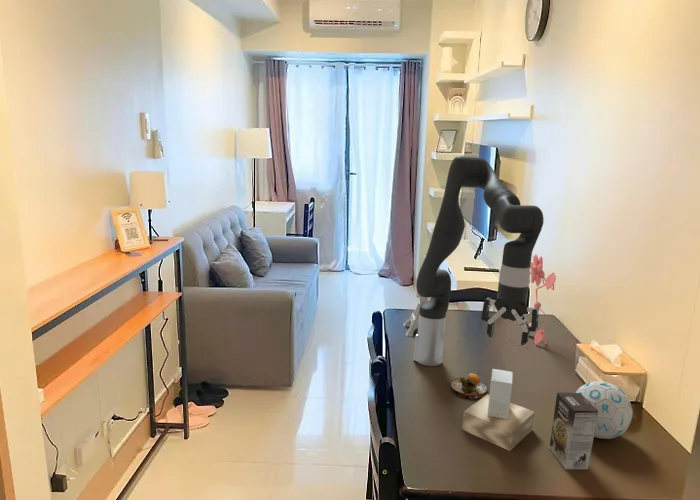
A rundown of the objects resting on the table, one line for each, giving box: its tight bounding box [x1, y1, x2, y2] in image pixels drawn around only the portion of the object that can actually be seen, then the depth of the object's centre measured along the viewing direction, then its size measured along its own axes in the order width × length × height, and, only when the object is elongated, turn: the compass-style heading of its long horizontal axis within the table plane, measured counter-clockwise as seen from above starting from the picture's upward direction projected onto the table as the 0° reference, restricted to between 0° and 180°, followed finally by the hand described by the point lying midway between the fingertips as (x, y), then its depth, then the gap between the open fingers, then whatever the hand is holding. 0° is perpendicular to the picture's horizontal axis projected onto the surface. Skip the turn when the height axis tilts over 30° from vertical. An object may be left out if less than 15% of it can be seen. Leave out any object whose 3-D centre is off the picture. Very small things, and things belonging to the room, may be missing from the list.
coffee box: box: [549, 391, 598, 470], centre depth 133 cm, size 9×6×16 cm
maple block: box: [461, 393, 536, 452], centre depth 146 cm, size 14×14×6 cm
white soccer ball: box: [574, 380, 634, 440], centre depth 145 cm, size 15×15×15 cm
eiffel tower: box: [403, 295, 429, 337], centre depth 214 cm, size 13×13×30 cm
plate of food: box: [449, 371, 489, 400], centre depth 168 cm, size 12×12×8 cm
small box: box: [488, 368, 514, 420], centre depth 144 cm, size 8×6×10 cm
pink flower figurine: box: [507, 254, 557, 349], centre depth 210 cm, size 15×26×35 cm, turn 2°
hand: (506, 340), depth 141 cm, fingers open, 8 cm apart
